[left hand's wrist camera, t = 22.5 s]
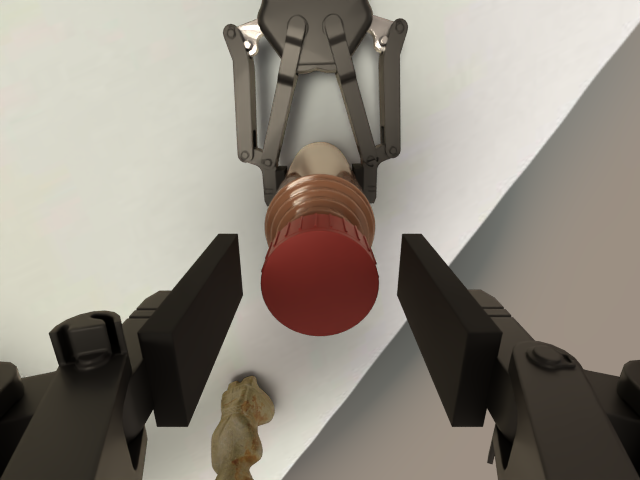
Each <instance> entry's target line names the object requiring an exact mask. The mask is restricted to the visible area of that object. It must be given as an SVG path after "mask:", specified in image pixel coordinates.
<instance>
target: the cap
mask: <svg viewBox="0 0 640 480" xmlns="http://www.w3.org/2000/svg"><path fill="white" fill-rule="evenodd" d="M376 264H377V263H376V260H375V258H374V255H373V252H372V250H371V247H369V245H368V242H367V239H366V237H365V235H364V236H363V235H362V234H361V232H360V231H359V230H358V229H357V226H356V225H355V226H353V225H352V224H351V223H349V222H348V221H346V220H345V218H343V219H342V218H339V217H337V216H333V215H331V214H329V215H327V214H317V213H315V214H313V215H307V216H300V218H298V219H296V220H294V221H292V222H288V224H287V225H286V226H285V227H284V228H283V229H282V230H281V231H278V233H277V235H276V237H275V239H274V241H273V242H271V244H270V246H269V249H268V252H267V254H266V257H265V262H264V265H263V268H262V270H261V272H262V275H261V291H262V295H263V299H264V301H265V304H266V306H267V307H268V309H269V311H270V312H271V313H272V315H273V316H274V317H275V318H276V319H277V320H278V321H279V322H280V323H282V324H283V325H284V326H286V327H288V328H289V329H291V330H294V331H296V332H299V333H302V334H306V335H311V336H328V335H334V334H338V333H341V332H344V331H346V330H348V329H350V328H352V327H354V326H355V325H357V324H358V323H359V322H360V321H362V320H363V319H364V318H365V317H366V316H367V314H368V313H369V312H370V310H371V309H372V307H373V305H374V303H375V301H376V298H377V294H378V289H379V275H378V272H377V268H376Z"/></svg>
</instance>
